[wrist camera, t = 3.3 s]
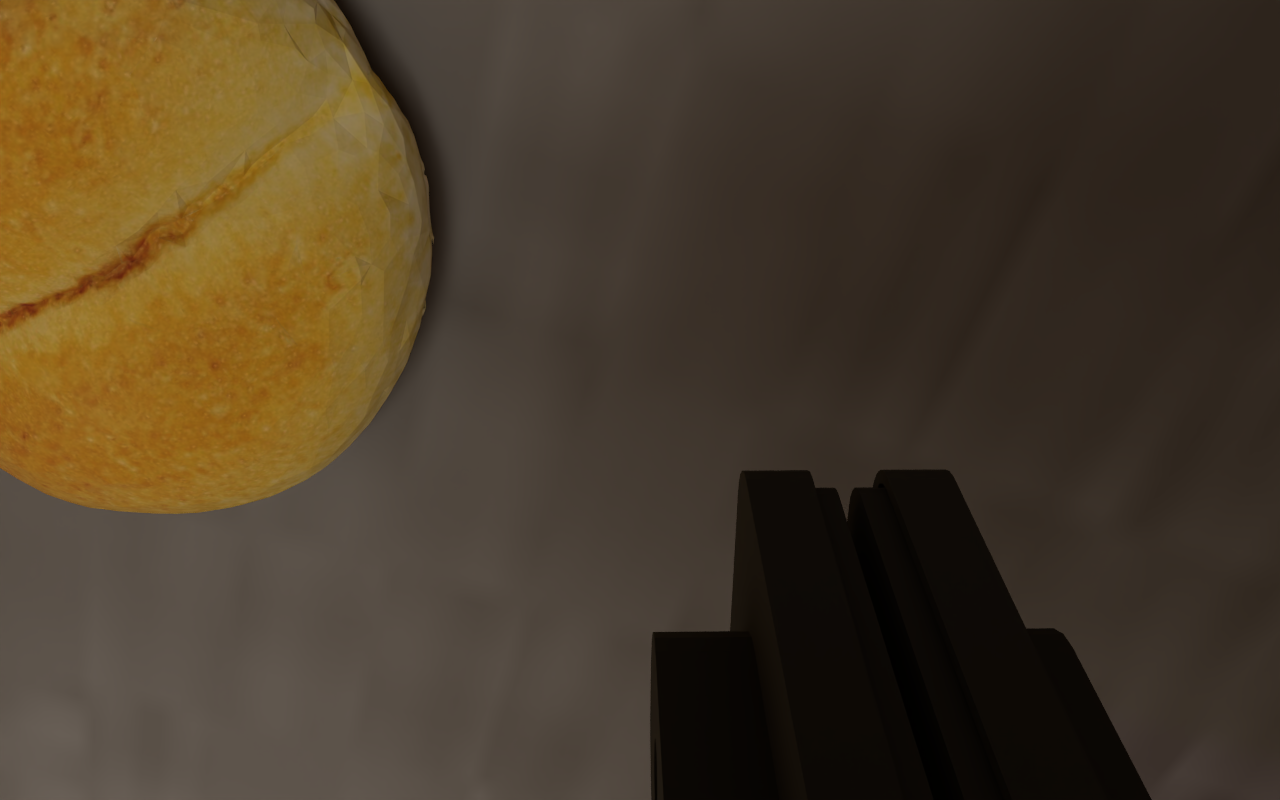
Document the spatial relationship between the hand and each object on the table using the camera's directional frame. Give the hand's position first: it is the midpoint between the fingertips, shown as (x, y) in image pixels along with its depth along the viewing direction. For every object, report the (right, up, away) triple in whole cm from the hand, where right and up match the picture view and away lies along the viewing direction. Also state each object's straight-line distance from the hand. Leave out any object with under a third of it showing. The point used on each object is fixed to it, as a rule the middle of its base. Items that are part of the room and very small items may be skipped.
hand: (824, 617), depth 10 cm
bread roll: (-9, +5, +8) cm, 13 cm away
